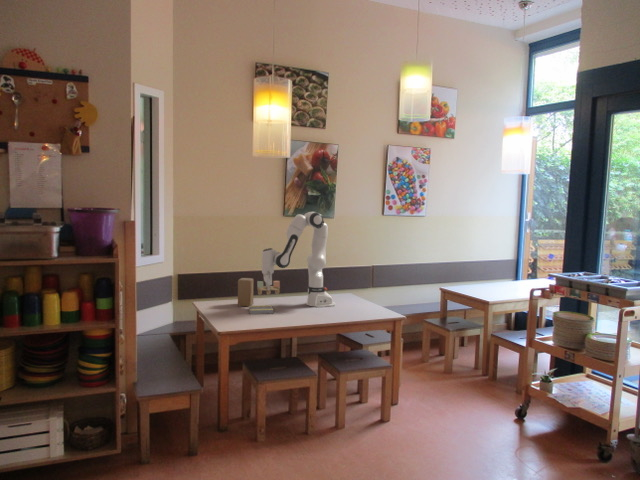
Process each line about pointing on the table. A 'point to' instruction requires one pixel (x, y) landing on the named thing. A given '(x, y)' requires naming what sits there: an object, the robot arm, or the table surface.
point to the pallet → (268, 290)
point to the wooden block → (245, 291)
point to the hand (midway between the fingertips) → (267, 289)
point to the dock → (260, 309)
